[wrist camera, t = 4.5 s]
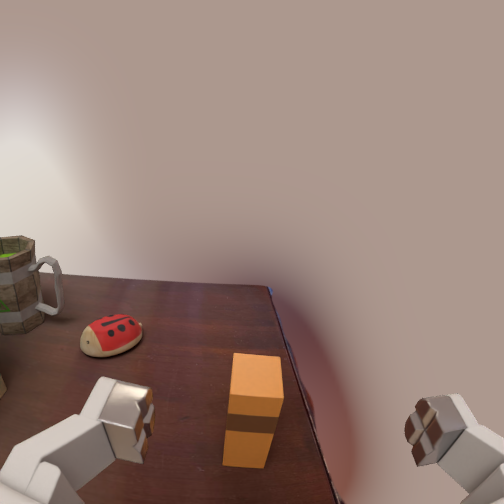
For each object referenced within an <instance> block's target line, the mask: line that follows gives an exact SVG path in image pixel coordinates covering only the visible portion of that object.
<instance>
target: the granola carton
mask: <svg viewBox="0 0 504 504" xmlns="http://www.w3.org/2000/svg"><path fill="white" fill-rule="evenodd" d="M283 399H284V395H283V383H282V372H281V361H280V357H274V356H261V355H250V354H240V353H234V355H233V364H232V372H231V381H230V391H229V401H228V411H227V422H226V432H225V442H224V453H223V464H222V465H224V466H234V467H247V468H264V465H265V462H266V459H267V455H268V452H269V449H270V445H271V442H272V439H273V435H274V433H275V429H276V426H277V422H278V419H279V414H280V410H281V406H282V403H283Z"/></svg>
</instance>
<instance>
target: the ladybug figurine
mask: <svg viewBox="0 0 504 504" xmlns="http://www.w3.org/2000/svg"><path fill="white" fill-rule="evenodd" d="M141 328H142V324H141V323H138V322H137V321H136V320H135V319H134V318H132V317H131V316H128V315H124V314H118V315H110V316H106V317H103V318H100V319H98V320H96V321H94V322H93V323H91V324H90V325H89V326H87V327H86V329H85V330H84V331H83V333H82V336H81V340H80V347H81V350H82V351H83V352H84V353H85V354H87V355H89V356H93V357H109V356H113V355H117V354H120V353H122V352H125V351H127V350H129V349H130V348H132V347H134V346H135V345H136V344H137V343H138V342H139V341H140V339H141V337H142V329H141Z"/></svg>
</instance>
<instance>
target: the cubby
mask: <svg viewBox="0 0 504 504" xmlns="http://www.w3.org/2000/svg"><path fill="white" fill-rule="evenodd" d="M6 390H7V388H6V386H5V383H4V381H3V379H2V377H1V374H0V399H1V397H2V396H3V395H4V393H5V392H6Z"/></svg>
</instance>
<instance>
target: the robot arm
mask: <svg viewBox="0 0 504 504" xmlns="http://www.w3.org/2000/svg"><path fill="white" fill-rule="evenodd" d="M152 398H153V393H152V388H150V387H145V386H141V385H136V384H132V383H128V382H123V381H119V380H114V379H110V378H106V377H103V376H102V377H101V378H100V379H99V380H98V381H97V383H96V385H95V387H94V388H93V390H92V392H91V394H90V396H89V398H88V400H87V402H86V404H85V405H84V407H83V409H82V411H81V413H80V415H77V414H74V415H72V416H70V417H69V418H67V419H65V420H63V421H61V422H59V423H58V424H56V425H54V426H52V427H50V428H48V429H46V430H44V431H43V432H41V433H39V434H37V435H35V436H33V437H31V438H29V439H27V440H25V441H23V442H21V443H19V444H17V445H16V446H14V448H13V450H12V451H11V453H10V455H9V457H8V458H7V460H6V462H5V464H4V466H3V468H2V469H1V471H0V504H85V503H84V502H83V501H82V499H81V498H80V497H79V495H78V494H77V493H76V491H77V490H78V489H80V488H81V487H82V486H84V485H85V484H86V483H87V482H89V481H90V480H91V479H92V478H94V477H95V476H96V475H97V474H99V473H100V472H101V471H102V470H104V469H105V468H106V467H107V466H109V465H110V464H111V463H112V462H113V461H115V460H116V459H115V458H117V459H122V460H126V461H131V462H135V463H140V464H144V460H145V457H146V453H147V450H148V442H147V438H148V437H150V436H151V435H152V432H153V429H154V423H155V407H154V405H153V404H152V403H151V401H152ZM415 408H416V411H415V412H414V413H413V414H411V415H410V416H409V418H408V419H407V421H406V424H405V437H406V439H407V442H409V443H410V444H411V445H413V448H412V454H413V457H414V459H415V462H416V465H417V467H418V466H423V465H429V464H433V463H437V464H438V465H439V466H440V467H441V468H442V469H443V470H444V471H445V472H446V473H447V474H449V475H450V476H451V477H452V478H453V479H454V480H455V481H456V482H457V483H458V484H459V485H461V487H463V488H464V489H465V490H466V491H467V492H468V493H469V495H468V496H467V497H466V498H465V499H464V500H463V501H462V502H461V504H504V438H502V437H501V436H499V435H498V434H496V433H494V432H493V431H491V430H490V429H488V428H487V427H485V426H483V425H479V424H478V422H477V421H476V419H475V418H474V416H473V414H472V413H471V411H470V409H469V408H468V406H467V405H466V403H465V401H464V399H463V398H462V396H461V395H459V394H458V393H457V394H450V395H443V396H436V397H428V398H422V399H420V400H419V401H418V402H417V404H416V406H415Z"/></svg>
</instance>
